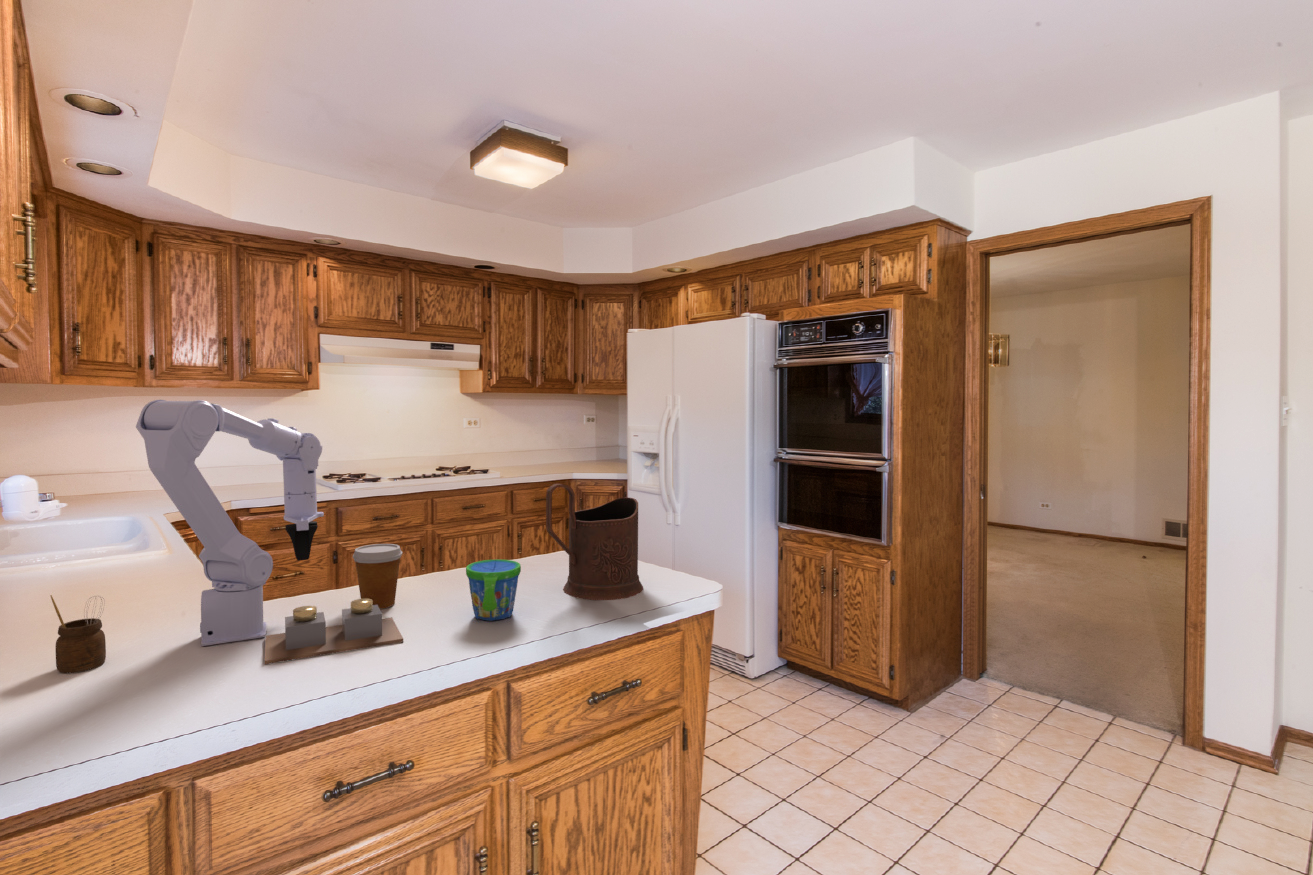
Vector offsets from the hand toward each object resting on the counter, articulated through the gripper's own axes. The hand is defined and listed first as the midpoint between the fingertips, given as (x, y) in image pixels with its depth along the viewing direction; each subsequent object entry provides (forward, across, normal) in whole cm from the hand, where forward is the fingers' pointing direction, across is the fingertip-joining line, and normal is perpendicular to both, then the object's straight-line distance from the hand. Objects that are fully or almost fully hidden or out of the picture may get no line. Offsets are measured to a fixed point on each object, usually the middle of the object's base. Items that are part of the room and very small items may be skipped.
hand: (302, 559), depth 131 cm
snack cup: (+11, -22, -32) cm, 40 cm away
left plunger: (+9, -22, +1) cm, 23 cm away
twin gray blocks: (+10, -22, -4) cm, 24 cm away
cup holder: (+11, -15, -57) cm, 60 cm away
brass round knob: (+9, -22, -8) cm, 25 cm away
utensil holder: (+10, -16, +32) cm, 37 cm away
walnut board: (+10, -22, -4) cm, 24 cm away
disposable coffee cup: (+11, -4, -13) cm, 18 cm away
